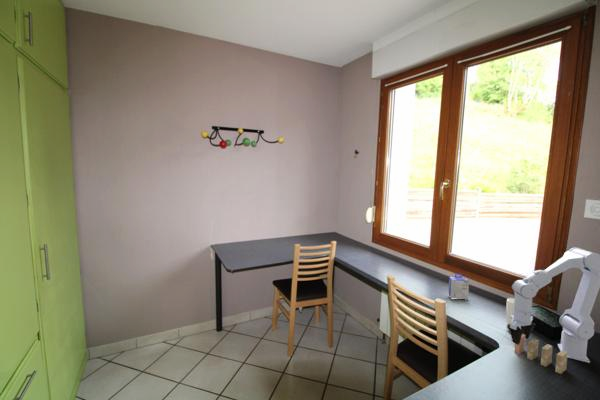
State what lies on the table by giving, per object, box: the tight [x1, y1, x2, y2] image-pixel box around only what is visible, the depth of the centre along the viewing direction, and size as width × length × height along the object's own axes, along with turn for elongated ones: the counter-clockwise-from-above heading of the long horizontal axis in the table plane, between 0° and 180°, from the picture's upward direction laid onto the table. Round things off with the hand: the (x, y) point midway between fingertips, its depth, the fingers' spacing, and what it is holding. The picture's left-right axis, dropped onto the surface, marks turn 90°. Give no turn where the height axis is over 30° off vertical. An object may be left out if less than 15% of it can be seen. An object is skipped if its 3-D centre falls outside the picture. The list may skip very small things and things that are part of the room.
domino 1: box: [526, 338, 540, 361], centre depth 116 cm, size 2×5×7 cm, turn 119°
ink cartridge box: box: [448, 273, 470, 301], centre depth 169 cm, size 10×6×14 cm, turn 78°
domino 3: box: [554, 350, 568, 375], centre depth 108 cm, size 2×5×7 cm, turn 119°
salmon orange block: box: [514, 334, 526, 355], centre depth 119 cm, size 2×5×7 cm, turn 119°
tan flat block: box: [540, 343, 553, 368], centre depth 112 cm, size 2×5×7 cm, turn 119°
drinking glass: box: [505, 297, 521, 333], centre depth 134 cm, size 7×7×15 cm
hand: (520, 340), depth 119 cm, fingers open, 7 cm apart
